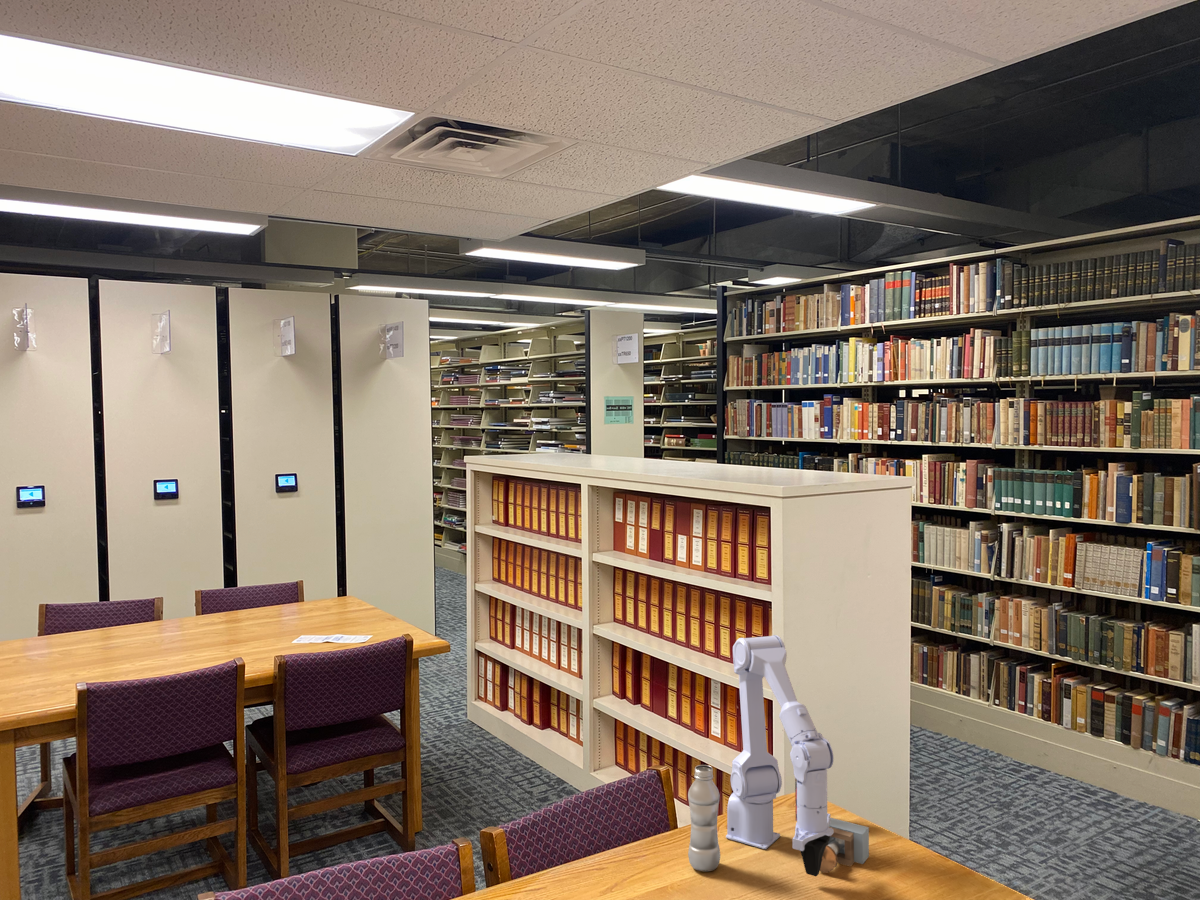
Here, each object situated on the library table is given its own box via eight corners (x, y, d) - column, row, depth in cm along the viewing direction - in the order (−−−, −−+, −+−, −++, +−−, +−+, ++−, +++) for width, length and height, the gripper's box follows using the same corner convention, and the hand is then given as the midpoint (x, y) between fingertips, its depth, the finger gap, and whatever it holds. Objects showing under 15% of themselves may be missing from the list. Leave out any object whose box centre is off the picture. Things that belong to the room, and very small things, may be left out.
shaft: (834, 875, 162) (834, 850, 162) (811, 868, 165) (811, 844, 165) (853, 853, 171) (853, 830, 171) (831, 847, 174) (830, 824, 174)
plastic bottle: (724, 863, 168) (724, 764, 168) (714, 878, 162) (714, 776, 162) (694, 857, 171) (693, 760, 171) (683, 872, 164) (683, 771, 165)
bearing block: (815, 850, 173) (815, 822, 173) (822, 843, 177) (821, 815, 177) (862, 864, 167) (862, 834, 168) (868, 856, 171) (868, 827, 171)
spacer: (819, 857, 170) (818, 828, 171) (822, 853, 172) (822, 824, 172) (850, 866, 167) (850, 836, 167) (853, 862, 168) (853, 833, 168)
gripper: (818, 821, 151) (818, 896, 151) (845, 795, 163) (845, 864, 162) (781, 811, 155) (782, 884, 155) (810, 787, 167) (811, 854, 166)
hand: (812, 873), depth 159 cm, fingers closed
